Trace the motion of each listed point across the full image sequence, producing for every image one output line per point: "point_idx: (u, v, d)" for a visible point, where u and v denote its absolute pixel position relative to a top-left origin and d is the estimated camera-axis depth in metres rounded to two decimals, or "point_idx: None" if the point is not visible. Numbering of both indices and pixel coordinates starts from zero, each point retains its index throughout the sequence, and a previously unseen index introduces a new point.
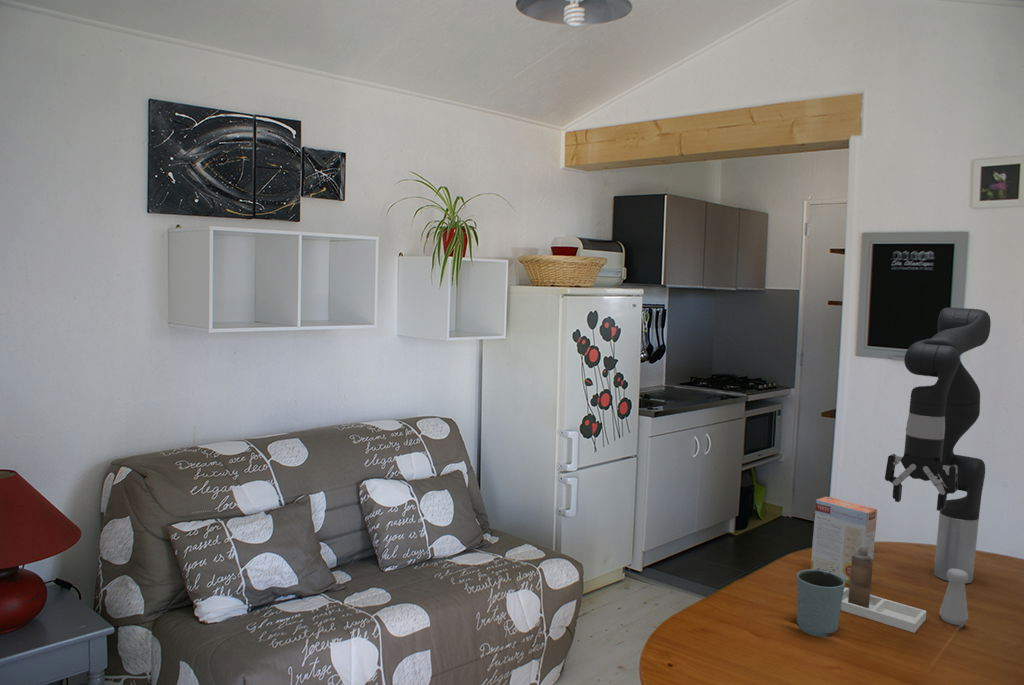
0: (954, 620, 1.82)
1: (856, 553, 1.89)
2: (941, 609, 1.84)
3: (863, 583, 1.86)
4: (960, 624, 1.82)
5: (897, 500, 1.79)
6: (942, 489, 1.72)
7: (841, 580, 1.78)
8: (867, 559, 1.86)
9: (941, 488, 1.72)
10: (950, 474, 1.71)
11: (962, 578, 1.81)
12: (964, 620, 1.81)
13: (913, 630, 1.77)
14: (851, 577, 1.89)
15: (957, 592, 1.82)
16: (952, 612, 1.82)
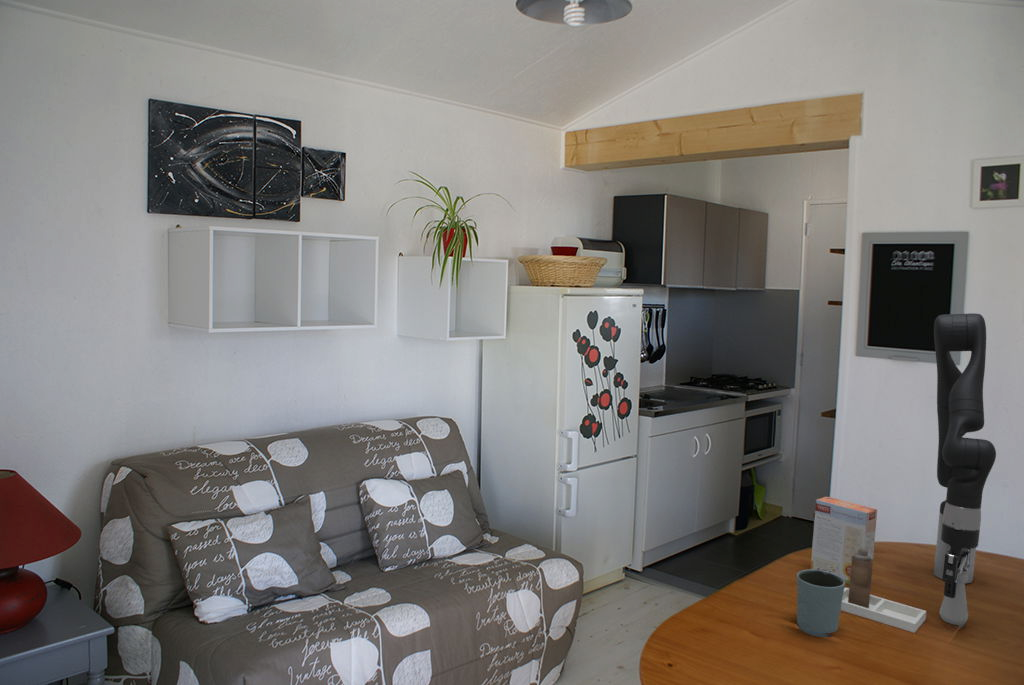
0: (954, 620, 1.82)
1: (856, 553, 1.89)
2: (941, 609, 1.84)
3: (863, 583, 1.86)
4: (960, 624, 1.82)
5: None
6: (966, 567, 1.86)
7: (841, 580, 1.78)
8: (867, 559, 1.86)
9: (966, 567, 1.86)
10: (969, 551, 1.86)
11: (962, 578, 1.81)
12: (964, 620, 1.81)
13: (913, 630, 1.77)
14: (851, 577, 1.89)
15: (957, 592, 1.82)
16: (952, 612, 1.82)
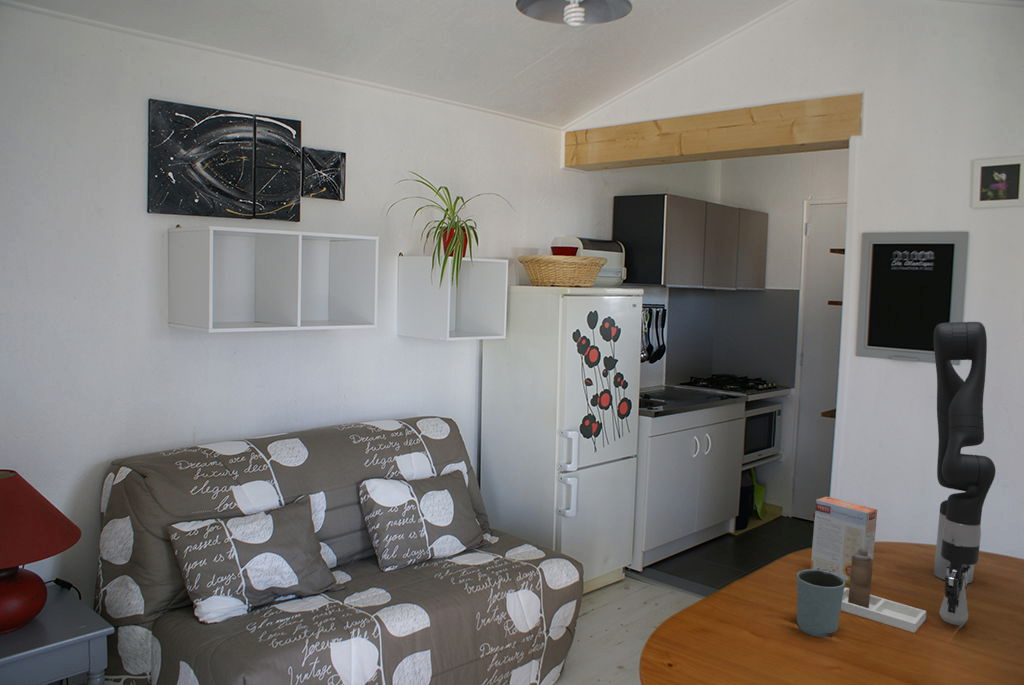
0: (954, 620, 1.82)
1: (856, 553, 1.89)
2: (941, 609, 1.84)
3: (863, 583, 1.86)
4: (960, 624, 1.82)
5: None
6: None
7: (841, 580, 1.78)
8: (867, 559, 1.86)
9: None
10: None
11: None
12: (964, 620, 1.81)
13: (913, 630, 1.77)
14: (851, 577, 1.89)
15: None
16: None
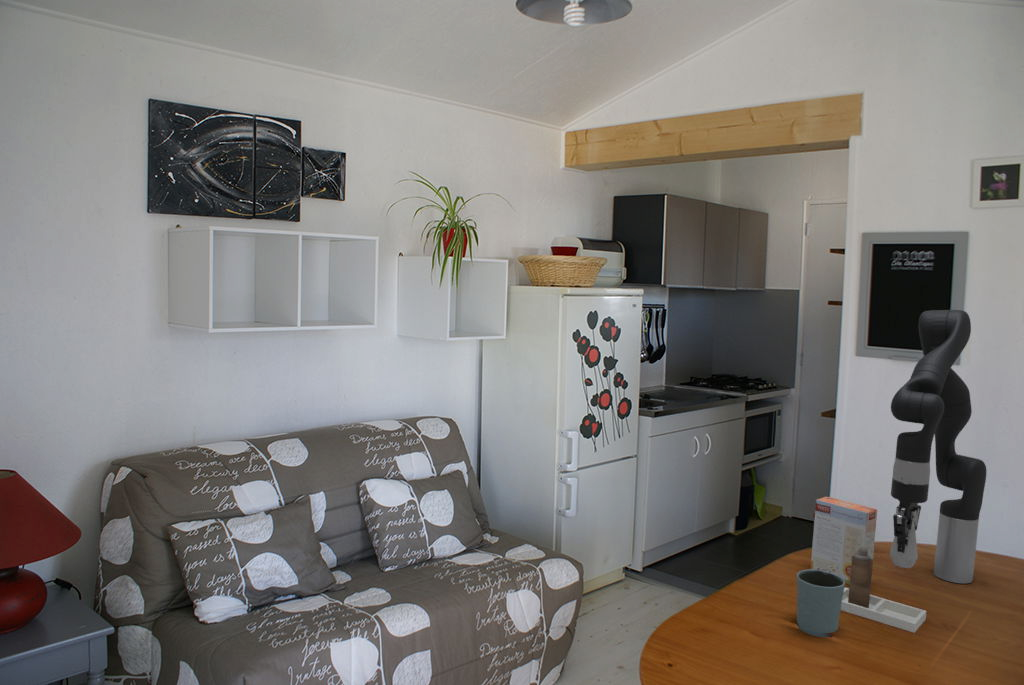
0: (903, 560, 1.80)
1: (856, 553, 1.89)
2: (891, 549, 1.83)
3: (863, 583, 1.86)
4: (909, 564, 1.80)
5: None
6: None
7: (841, 580, 1.78)
8: (867, 559, 1.86)
9: None
10: (918, 513, 1.84)
11: None
12: (913, 559, 1.80)
13: (913, 630, 1.77)
14: (851, 577, 1.89)
15: None
16: (901, 552, 1.80)
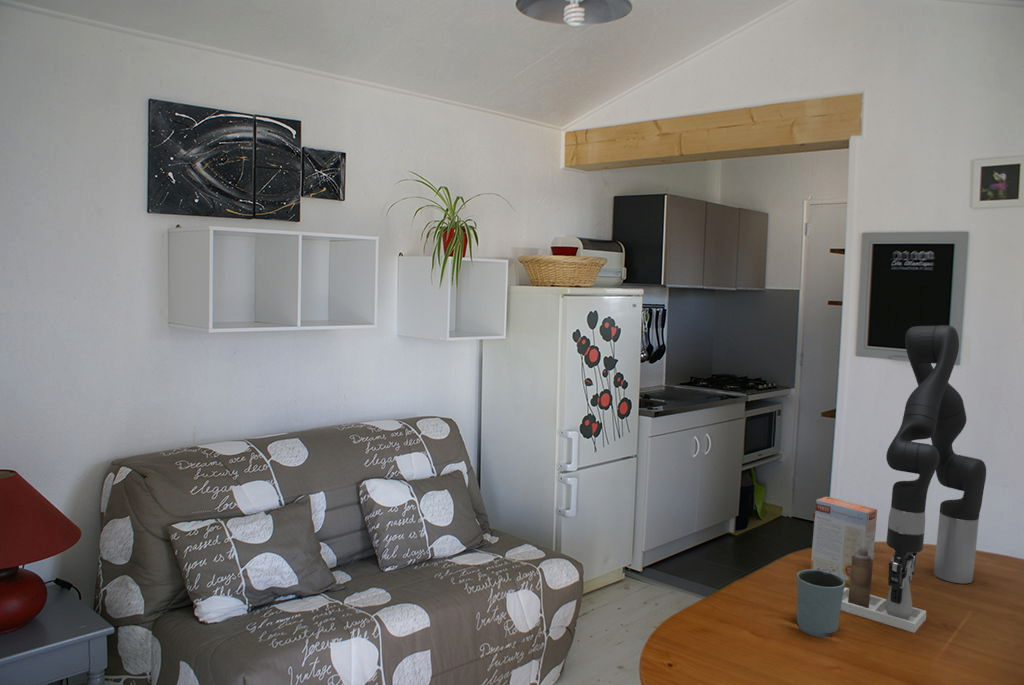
0: (898, 614, 1.81)
1: (856, 553, 1.89)
2: (886, 603, 1.84)
3: (863, 583, 1.86)
4: (904, 618, 1.81)
5: None
6: (911, 575, 1.85)
7: (841, 580, 1.78)
8: (867, 559, 1.86)
9: (911, 574, 1.84)
10: (915, 558, 1.86)
11: None
12: (908, 614, 1.81)
13: (913, 630, 1.77)
14: (851, 577, 1.89)
15: None
16: (896, 606, 1.81)
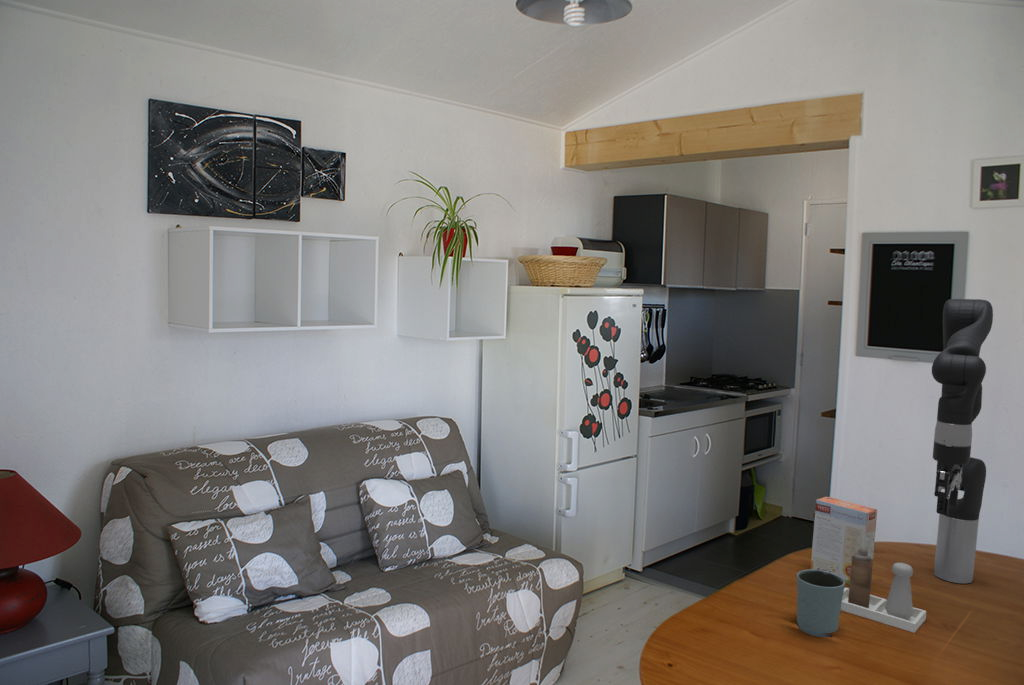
0: (898, 614, 1.81)
1: (856, 553, 1.89)
2: (886, 603, 1.84)
3: (863, 583, 1.86)
4: (905, 618, 1.81)
5: None
6: (959, 485, 1.86)
7: (841, 580, 1.78)
8: (867, 559, 1.86)
9: (959, 484, 1.86)
10: (961, 469, 1.86)
11: (906, 572, 1.81)
12: (908, 614, 1.81)
13: (913, 630, 1.77)
14: (851, 577, 1.89)
15: (901, 586, 1.81)
16: (896, 607, 1.81)
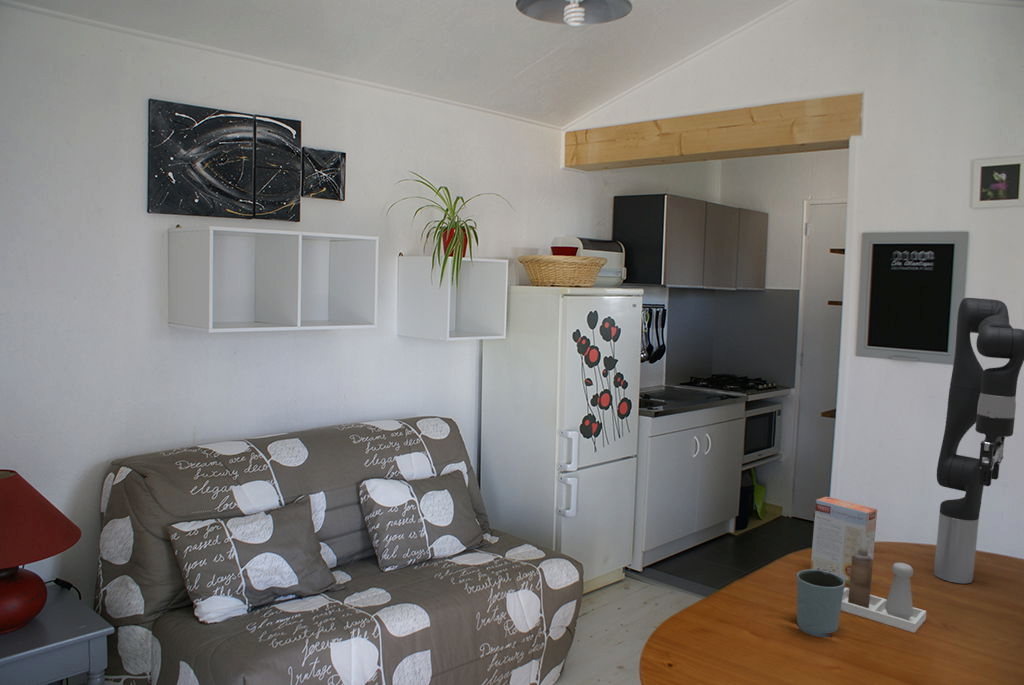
0: (898, 614, 1.81)
1: (856, 553, 1.89)
2: (886, 603, 1.84)
3: (863, 583, 1.86)
4: (905, 618, 1.81)
5: None
6: (1000, 458, 1.87)
7: (841, 580, 1.78)
8: (867, 559, 1.86)
9: (1000, 458, 1.87)
10: None
11: (906, 572, 1.81)
12: (908, 614, 1.81)
13: (913, 630, 1.77)
14: (851, 577, 1.89)
15: (901, 586, 1.81)
16: (896, 607, 1.81)
